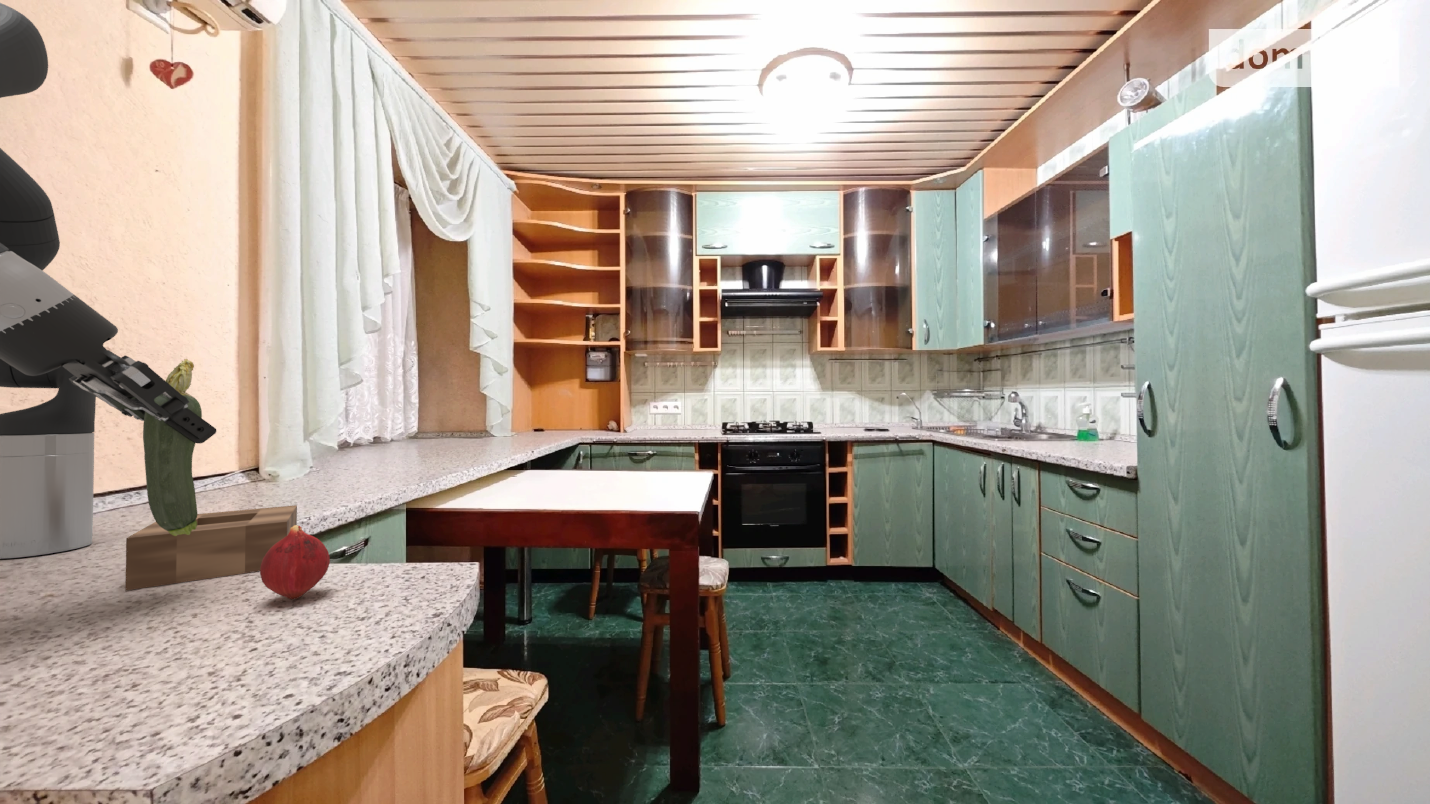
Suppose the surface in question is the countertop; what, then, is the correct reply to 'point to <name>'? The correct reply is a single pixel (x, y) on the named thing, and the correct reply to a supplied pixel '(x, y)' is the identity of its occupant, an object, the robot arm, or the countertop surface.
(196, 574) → the socket block
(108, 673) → the countertop surface
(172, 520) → the vegetable
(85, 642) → the countertop surface
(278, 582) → the onion
